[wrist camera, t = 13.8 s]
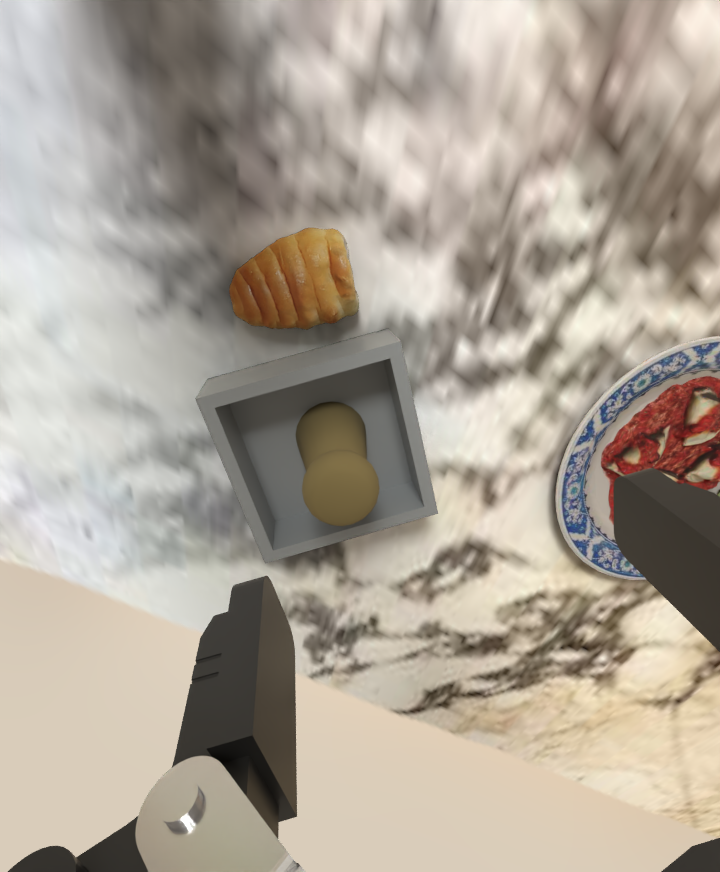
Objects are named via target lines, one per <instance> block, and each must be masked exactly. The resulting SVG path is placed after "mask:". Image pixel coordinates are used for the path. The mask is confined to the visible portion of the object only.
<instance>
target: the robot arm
mask: <svg viewBox="0 0 720 872" xmlns="http://www.w3.org/2000/svg"><path fill="white" fill-rule="evenodd" d="M614 537H615V540H616V543H617V545H618V548H619V549H620V551H621V553H622V554H623V556H624V557H625V558H626V559H627V560H628V561H629V562H630V563H631V564H632V565H633V566H634V567H635V568H636V569H637V570H638V571H639V572H640V573H641V574H642V575H643V576H644V577H645V578H646V579H647V580H648V581H649V582H650V583H651V584H652V585H653V586H654V587H655V588H656V589H657V590H658V591H659V592H660V593H661V594H662V595H663V596H664V597H665V598H666V599H667V600H668V601H669V602H670V603H671V604H672V605H673V606H674V607H675V608H676V609H677V610H678V611H679V612H680V613H681V614H682V615H683V616H684V617H685V618H686V619H687V620H688V621H689V622H690V623H691V624H692V625H693V626H694V627H695V628H696V629H697V630H698V631H699V632H700V633H701V634H702V635H703V636H704V637H705V638H706V639H707V640H708V641H709V642H710V643H711V644H712V645H713V646H714V647H715V648H716V649H717V650H718V651H719V652H720V497H719V496H718V495H716V494H715V493H713V492H710V491H707V490H704V489H701V488H698V487H695V486H692V485H690V484H687V483H682V484H678V483H677V482H675V481H674V480H672V479H671V478H669V477H668V476H666V475H665V474H663V473H662V472H660V471H659V470H657V469H654V468H648V469H645V470H641V471H638V472H634V473H631V474H627V475H624V476H620V477H618V478H616V479H615V481H614ZM295 706H296V703H295V648H294V641H293V636H292V632H291V628H290V625H289V623H288V620H287V618H286V615H285V613H284V611H283V608H282V606H281V604H280V601H279V599H278V596H277V594H276V592H275V589H274V587H273V585H272V582H271V580H270V579H269V577H268V576H264V577H261V578H257V579H254V580H250V581H247V582H243V583H240V584H236V585H234V586H233V588H232V591H231V597H230V604H229V610H228V612H226V613H222V614H219V615H215V616H214V617H213V618H212V620H211V622H210V623H209V625H208V627H207V628H206V630H205V631H204V633H203V635H202V636H201V638H200V643H199V648H198V652H197V657H196V665H195V666H194V671H193V675H192V684H191V685H190V689H189V694H188V698H187V703H186V707H185V712H184V717H183V721H182V726H181V731H180V735H179V740H178V744H177V749H176V754H175V758H174V762H173V766H172V768H171V769H170V770H169V771H167V772H166V773H165V774H164V775H163V776H162V777H161V778H160V779H159V780H158V781H157V783H156V784H155V785H154V787H153V788H152V789H151V791H150V792H149V794H148V795H147V797H146V799H145V801H144V803H143V805H142V807H141V810H140V812H139V815H138V816H137V817H136V818H135V819H134V820H132V821H131V822H130V823H128V824H127V825H126V826H124V827H123V828H121V829H120V830H118V831H116V832H115V833H113V834H112V835H110V836H109V837H107V838H106V839H104V840H103V841H101V842H99V843H98V844H96V845H95V846H93V847H92V848H90V849H89V850H87V851H86V852H84V853H83V854H81V855H79V856H78V857H75V856H74V855H73V854H72V853H71V852H70V851H69V850H67V849H66V848H64V847H60V846H49V847H46V848H42V849H40V850H38V851H36V852H33V853H32V854H30V855H28V856H27V857H25V858H24V859H22V860H21V861H20V862H18V863H17V864H16V865H15V866H13V868H11V869H10V870H9V871H8V872H305V871H304V869H303V868H302V867H301V866H300V865H299V864H298V863H296V862H295V861H294V860H293V859H292V857H291V856H290V855H289V853H288V852H287V851H286V849H285V848H284V847H283V845H282V844H281V843H280V842H279V840H278V822H280V821H284V820H287V819H290V818H294V817H297V785H296V708H295ZM662 872H720V838H718V839H715V840H711V841H708V842H705V843H701V844H698V845H695V846H692V847H691V848H690V849H688V850H687V851H686V852H685V853H684V854H682V855H681V856H680V857H679V858H678V859H676V860H675V861H674V862H673V863H671V864H670V865H669V866H668V867H667V868H665V869H664V870H663V871H662Z"/></svg>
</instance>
